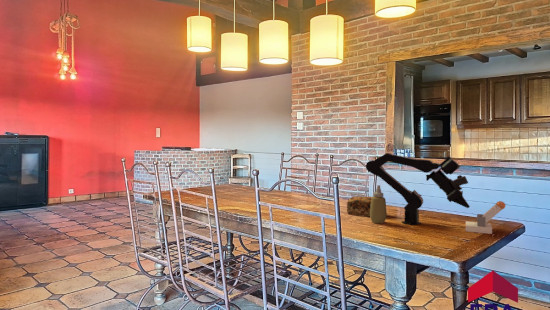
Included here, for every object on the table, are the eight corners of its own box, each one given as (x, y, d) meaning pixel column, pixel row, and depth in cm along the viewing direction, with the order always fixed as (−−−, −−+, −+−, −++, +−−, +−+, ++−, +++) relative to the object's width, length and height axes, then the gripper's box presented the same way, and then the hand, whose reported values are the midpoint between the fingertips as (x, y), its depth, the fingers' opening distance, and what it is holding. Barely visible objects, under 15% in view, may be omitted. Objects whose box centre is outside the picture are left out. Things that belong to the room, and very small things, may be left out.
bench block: (465, 231, 163) (466, 216, 163) (465, 226, 172) (466, 212, 172) (491, 233, 158) (492, 218, 158) (490, 229, 167) (490, 214, 167)
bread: (386, 215, 198) (386, 196, 198) (380, 218, 189) (380, 199, 189) (353, 211, 209) (353, 193, 208) (345, 214, 200) (346, 196, 199)
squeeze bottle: (377, 224, 175) (378, 186, 174) (365, 221, 182) (366, 185, 181) (390, 223, 178) (390, 185, 178) (378, 219, 186) (379, 184, 185)
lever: (476, 221, 163) (500, 200, 159) (475, 219, 168) (500, 198, 163) (483, 227, 162) (508, 206, 157) (482, 225, 166) (506, 204, 162)
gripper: (456, 171, 160) (484, 198, 155) (457, 168, 176) (483, 193, 172) (435, 188, 164) (463, 215, 159) (438, 183, 180) (463, 208, 176)
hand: (468, 207), depth 166 cm, fingers closed
